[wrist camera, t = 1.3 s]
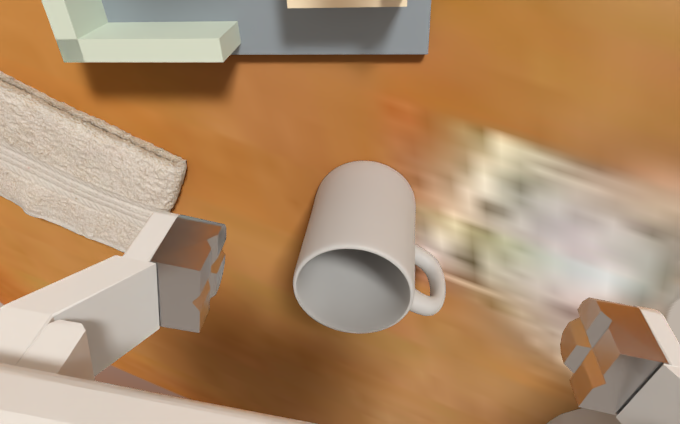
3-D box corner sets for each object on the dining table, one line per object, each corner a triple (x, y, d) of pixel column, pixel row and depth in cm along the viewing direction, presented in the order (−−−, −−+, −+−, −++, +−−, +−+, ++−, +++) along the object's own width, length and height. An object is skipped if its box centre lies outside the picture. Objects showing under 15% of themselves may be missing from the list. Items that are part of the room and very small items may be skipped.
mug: (300, 213, 44) (271, 302, 36) (347, 140, 40) (327, 223, 31) (413, 271, 47) (412, 369, 38) (470, 210, 42) (484, 305, 33)
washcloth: (-15, 57, 40) (-44, 71, 37) (196, 155, 43) (182, 174, 40) (-18, 169, 47) (-43, 187, 44) (164, 247, 50) (151, 268, 47)
